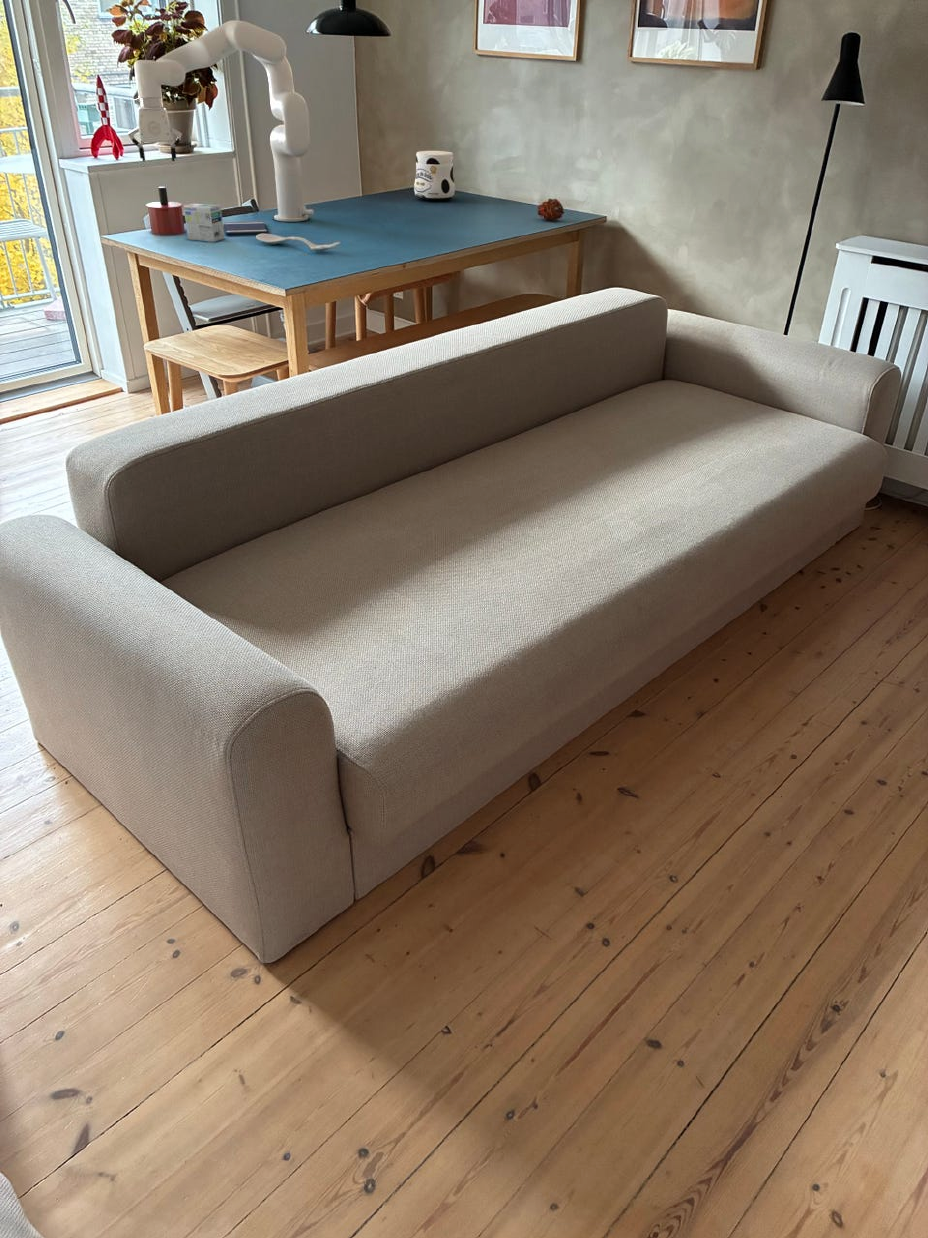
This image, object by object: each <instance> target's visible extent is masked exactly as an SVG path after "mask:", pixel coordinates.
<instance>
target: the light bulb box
mask: <svg viewBox="0 0 928 1238" xmlns="http://www.w3.org/2000/svg"><path fill="white" fill-rule="evenodd" d="M183 211H184V213H183V214H184V220H185V227H186V228H185V229H186V234H187V235H186V236H187V240H188V241H189V240H190V241H199V242H210V243H211V242H212V243H214V242H219V241H222V240H225V229H224V222H223V215H222V214H223V213H222V206H221V205H220V204H208V203H207V204H206V203H205V204H204V203H196V202H195V203H190V204H185V205H183Z"/></svg>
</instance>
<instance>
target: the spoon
mask: <svg viewBox="0 0 928 1238" xmlns="http://www.w3.org/2000/svg"><path fill="white" fill-rule="evenodd" d="M255 238H256V239H257V240H258V241H260V242H262V243H265V244H268V245H279V244H283V243H285V242H289V241H296V242H301V243H305V244H306V245H307V246H308V247H309V248H310V249H311V250H312V251H315V252H324V251H327V250H330V249H334V248H335V247H338V246H341V242H340V241H336V242H333V243H330V244H321V245H320V244H315V243H313V242H311V241H310V240H308V239H307V238H304V237H299V236H287V237H283V236H280V235H277V234H271V233H268V234H258V235H255Z"/></svg>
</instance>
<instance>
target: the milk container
mask: <svg viewBox="0 0 928 1238" xmlns="http://www.w3.org/2000/svg"><path fill="white" fill-rule="evenodd" d="M413 191H414V195H415V197H416V198H417V199H419V200H423V201H433V202H435V201H436V202H438V201H439V202H440V201H447V200H450V199H452V198H453V197H455V192H456V183H455V179H454V153H453V152H451V151H445V150H420V151H416V154H415V179H414V184H413Z"/></svg>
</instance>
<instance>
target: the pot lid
mask: <svg viewBox="0 0 928 1238" xmlns="http://www.w3.org/2000/svg"><path fill="white" fill-rule="evenodd" d="M157 190H158V197H159V201H155V202H149V203H147V204H145V207H146V208H147V209H148V208H153V209H172V208H179V207H182V208H183V207H184V205H183V203H182V202H179V201H178V202H177V201H169V199H168V198H169V197H168V192H167V187H166V186H158V189H157Z"/></svg>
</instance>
